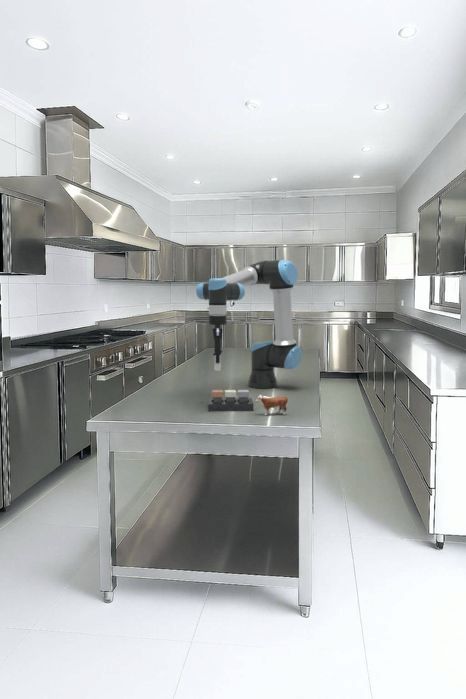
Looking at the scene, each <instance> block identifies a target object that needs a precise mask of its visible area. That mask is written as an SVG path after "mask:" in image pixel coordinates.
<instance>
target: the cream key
mask: <svg viewBox="0 0 466 699" xmlns="http://www.w3.org/2000/svg"><path fill="white" fill-rule="evenodd" d="M224 397H225V398H226V402H235V398H237V391H236V389H224Z"/></svg>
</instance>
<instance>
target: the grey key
mask: <svg viewBox="0 0 466 699" xmlns="http://www.w3.org/2000/svg"><path fill="white" fill-rule="evenodd" d="M237 398H239V402H248V398H250V391H249V389H237Z"/></svg>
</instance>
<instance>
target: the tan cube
mask: <svg viewBox="0 0 466 699" xmlns="http://www.w3.org/2000/svg"><path fill="white" fill-rule="evenodd" d="M211 394H212V395H211V398H213V402H222V398H223V397H224V390H223V389H212V390H211Z"/></svg>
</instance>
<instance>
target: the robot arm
mask: <svg viewBox="0 0 466 699" xmlns="http://www.w3.org/2000/svg"><path fill="white" fill-rule="evenodd" d="M298 278H299V276H298V269H297V266H296V264H294V262H293V261H291V260H289V259H288V260H285V259H280V260H279V259H277V260H262V261H258V262H255V263H253V264H250V265H247V266H245V267H243V269H242V270H240V271H237V272H234V273H232V274H229V275H226V276H224V277H221V278H219V277H218V278H215V277H214V278H210V279H209V280H208V282H201V283H199V284H197V286H196V289H195V290H196V291H195V293H196V296H197V298H198V299H199V300H204V301H208V307H207V308H206V309H207V310H208V315H209V316H208V324H209V325H211V326H212V325H213V326H214V328H212V334H213V340H214V353H213V354H212V355H213V356H214V357H213V358H214V359H213V360H214V365H213V368H214V371H216V372H217V371H219V372H220V371H222V353H223V350H222V347H221V345H222V342H221V340H222V336H223V328H221V326H225V325H226V324H227V313H228V311H227V309H228V308H227V306H228V305H227V302H228V301H236V302H237V301H240V300H242V299H243V298H244V297H245V294H246V291H245V290H246V289H245V287H246V286H250V287H251V286H255V285H269V286H268V287H269V290H270V292H272V296H273V299H272V301H273V314H274V318H273V319H274V331H275V332H274V334H275V340H274V341H272V340H271V341H270V340H268V341H261V342H260V341H259V342H254V343H252V345H251V351H250V352H251V370H250V375H249V377H248V381H247V386H248V387H250V388H254V389H272V388H273V389H274V388H277V387H278V381H277V378H276V374H275V368H277V369H285V370H294V369H296V368H297V367H298V366H299V364H300V362H301V360H302V356H303V353H302V349H301V347H300V346H298V345H297V341H296V340H295V339H294V334H293V333H294V331H293V330H294V329H293V313H292V296H291V291H292V290H293V289H294V285H295V284H296V282H297V281H298V280H297V279H298Z"/></svg>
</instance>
